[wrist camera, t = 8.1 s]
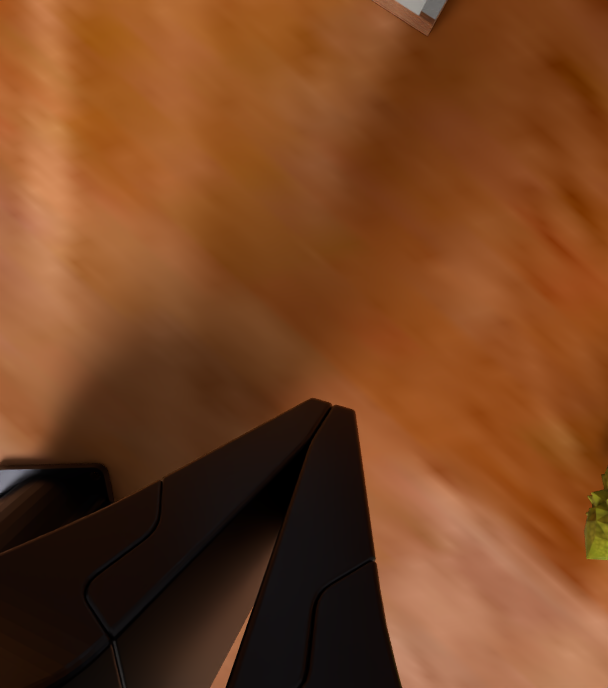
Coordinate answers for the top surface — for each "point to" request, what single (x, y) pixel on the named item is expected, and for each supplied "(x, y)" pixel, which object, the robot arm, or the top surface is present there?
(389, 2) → the switch console
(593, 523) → the vegetable
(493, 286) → the top surface
